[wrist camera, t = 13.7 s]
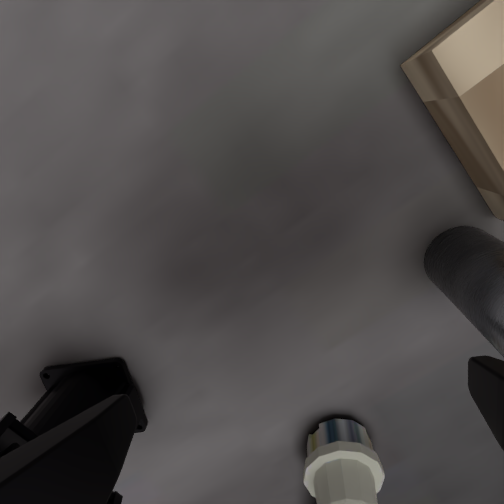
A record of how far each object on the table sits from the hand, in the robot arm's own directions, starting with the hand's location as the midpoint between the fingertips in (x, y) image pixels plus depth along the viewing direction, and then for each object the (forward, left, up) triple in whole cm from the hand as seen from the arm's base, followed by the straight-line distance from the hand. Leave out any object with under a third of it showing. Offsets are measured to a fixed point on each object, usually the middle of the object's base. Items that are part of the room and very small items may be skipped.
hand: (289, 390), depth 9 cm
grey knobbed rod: (-1, -26, -14) cm, 29 cm away
